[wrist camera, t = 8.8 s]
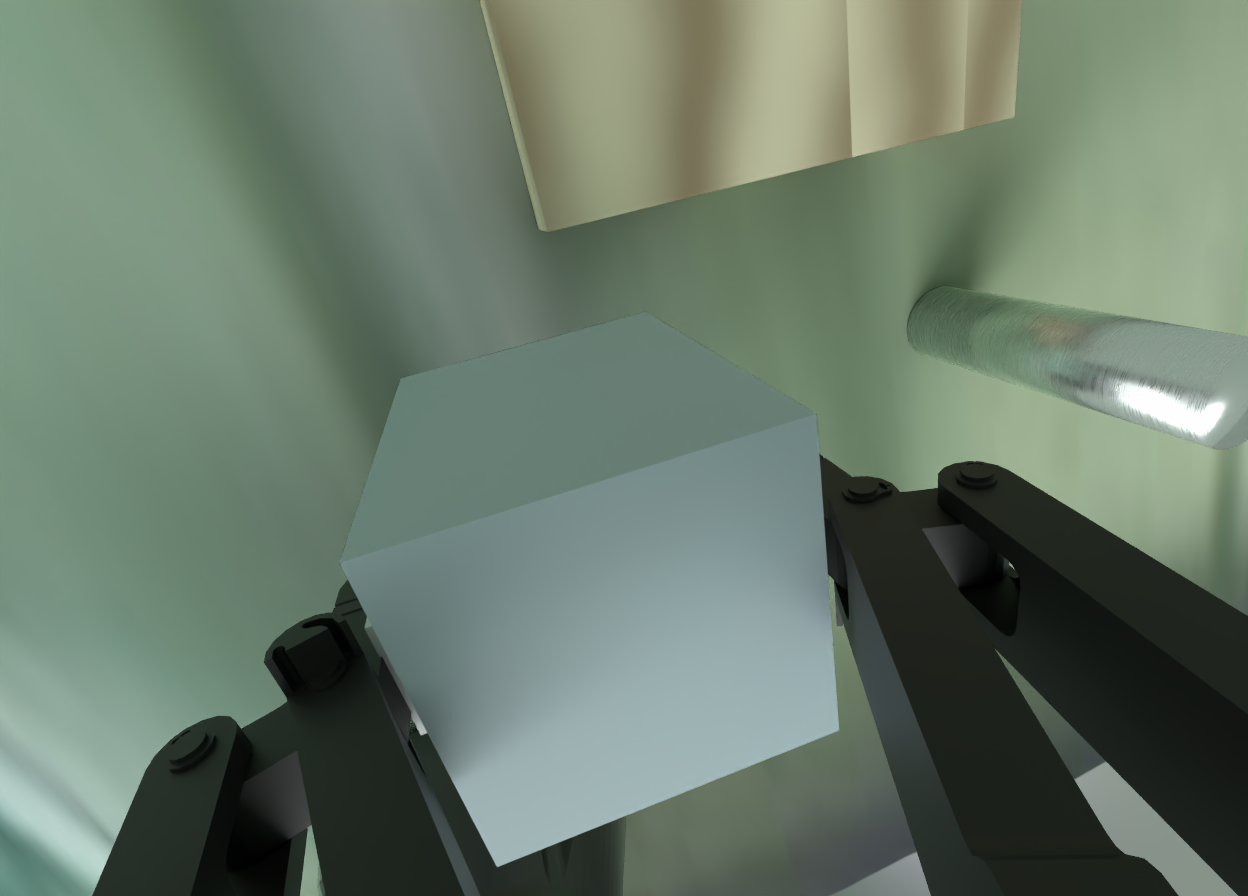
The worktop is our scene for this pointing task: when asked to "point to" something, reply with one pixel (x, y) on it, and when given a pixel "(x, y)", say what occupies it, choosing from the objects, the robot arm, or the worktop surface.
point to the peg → (1095, 360)
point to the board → (734, 89)
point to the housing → (597, 575)
